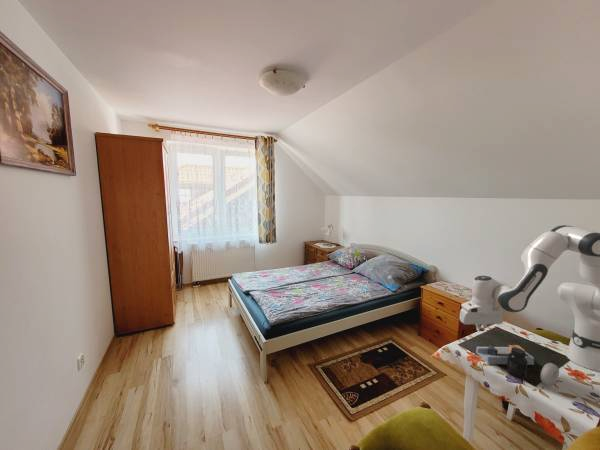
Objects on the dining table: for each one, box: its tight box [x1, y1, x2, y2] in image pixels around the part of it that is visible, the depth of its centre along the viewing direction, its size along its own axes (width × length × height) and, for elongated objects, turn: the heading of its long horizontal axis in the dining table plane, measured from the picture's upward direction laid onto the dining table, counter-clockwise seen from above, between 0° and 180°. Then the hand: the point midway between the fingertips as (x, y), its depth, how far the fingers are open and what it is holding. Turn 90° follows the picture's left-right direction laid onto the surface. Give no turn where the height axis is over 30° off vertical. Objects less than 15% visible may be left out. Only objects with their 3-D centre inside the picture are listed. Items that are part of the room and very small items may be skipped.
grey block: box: [487, 344, 511, 356], centre depth 122 cm, size 10×4×5 cm, turn 87°
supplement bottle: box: [506, 347, 528, 380], centre depth 110 cm, size 7×7×12 cm
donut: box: [540, 362, 560, 387], centre depth 104 cm, size 10×4×10 cm, turn 114°
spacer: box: [508, 344, 526, 352], centre depth 121 cm, size 4×4×5 cm
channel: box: [475, 346, 535, 366], centre depth 122 cm, size 22×9×4 cm, turn 87°
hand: (480, 330), depth 126 cm, fingers closed
